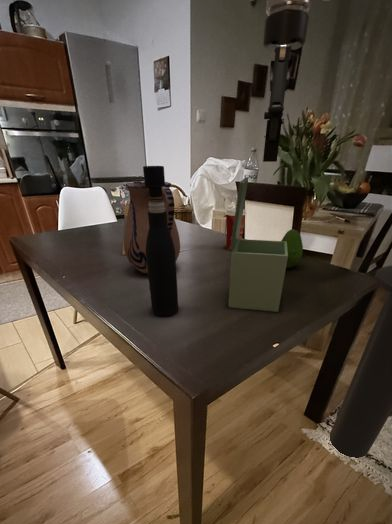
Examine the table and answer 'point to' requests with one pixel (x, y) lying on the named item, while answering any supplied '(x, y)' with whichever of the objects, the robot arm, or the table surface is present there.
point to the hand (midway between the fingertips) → (270, 160)
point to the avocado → (293, 247)
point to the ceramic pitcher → (145, 223)
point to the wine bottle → (160, 248)
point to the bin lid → (239, 212)
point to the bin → (257, 274)
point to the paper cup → (230, 223)
